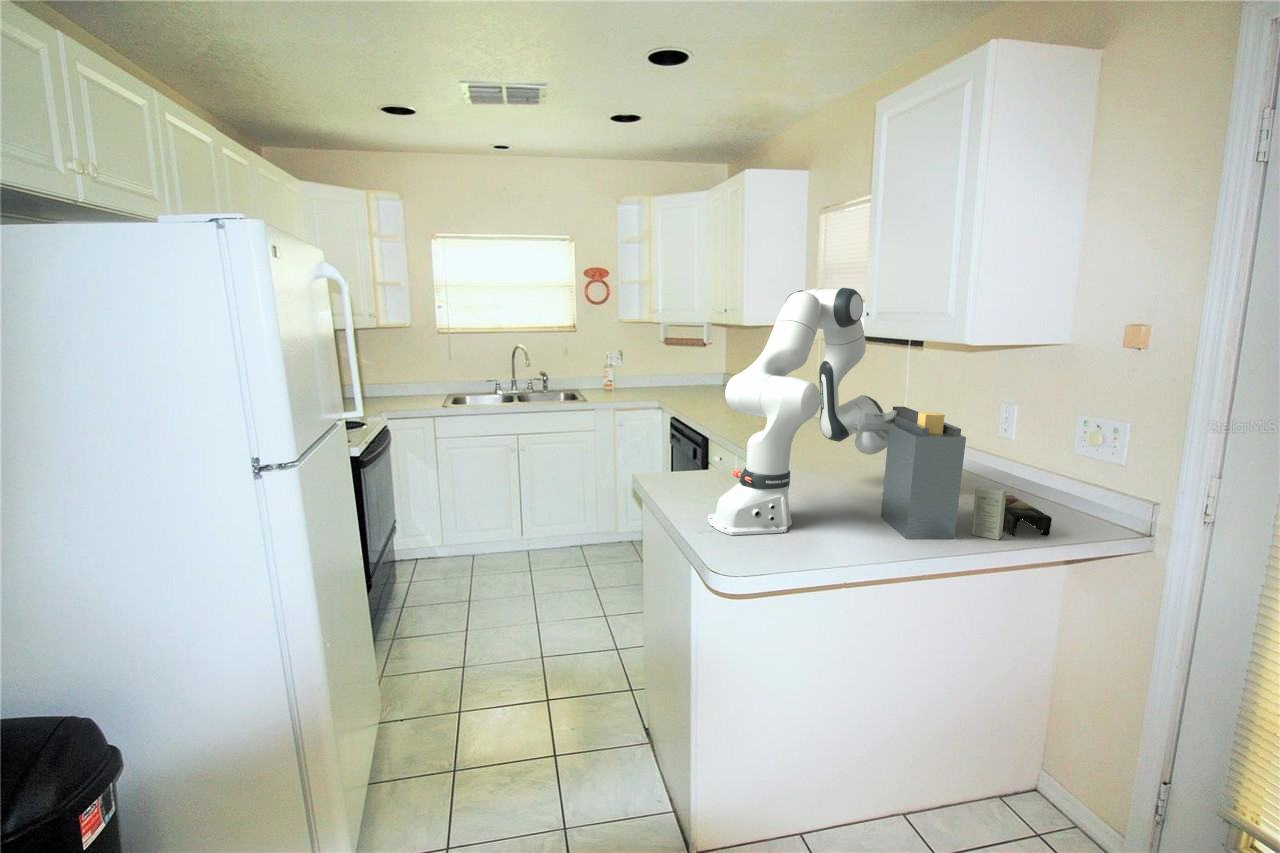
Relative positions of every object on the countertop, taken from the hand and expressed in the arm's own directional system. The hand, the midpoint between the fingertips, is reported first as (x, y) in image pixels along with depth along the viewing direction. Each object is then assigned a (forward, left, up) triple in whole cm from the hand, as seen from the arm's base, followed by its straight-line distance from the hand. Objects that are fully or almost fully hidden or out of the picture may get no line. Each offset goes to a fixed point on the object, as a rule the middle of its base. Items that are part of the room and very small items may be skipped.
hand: (904, 412), depth 166 cm
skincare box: (+9, -22, -28) cm, 37 cm away
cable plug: (-2, -5, -2) cm, 6 cm away
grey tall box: (-4, -12, -28) cm, 31 cm away
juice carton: (+23, -18, -29) cm, 41 cm away
